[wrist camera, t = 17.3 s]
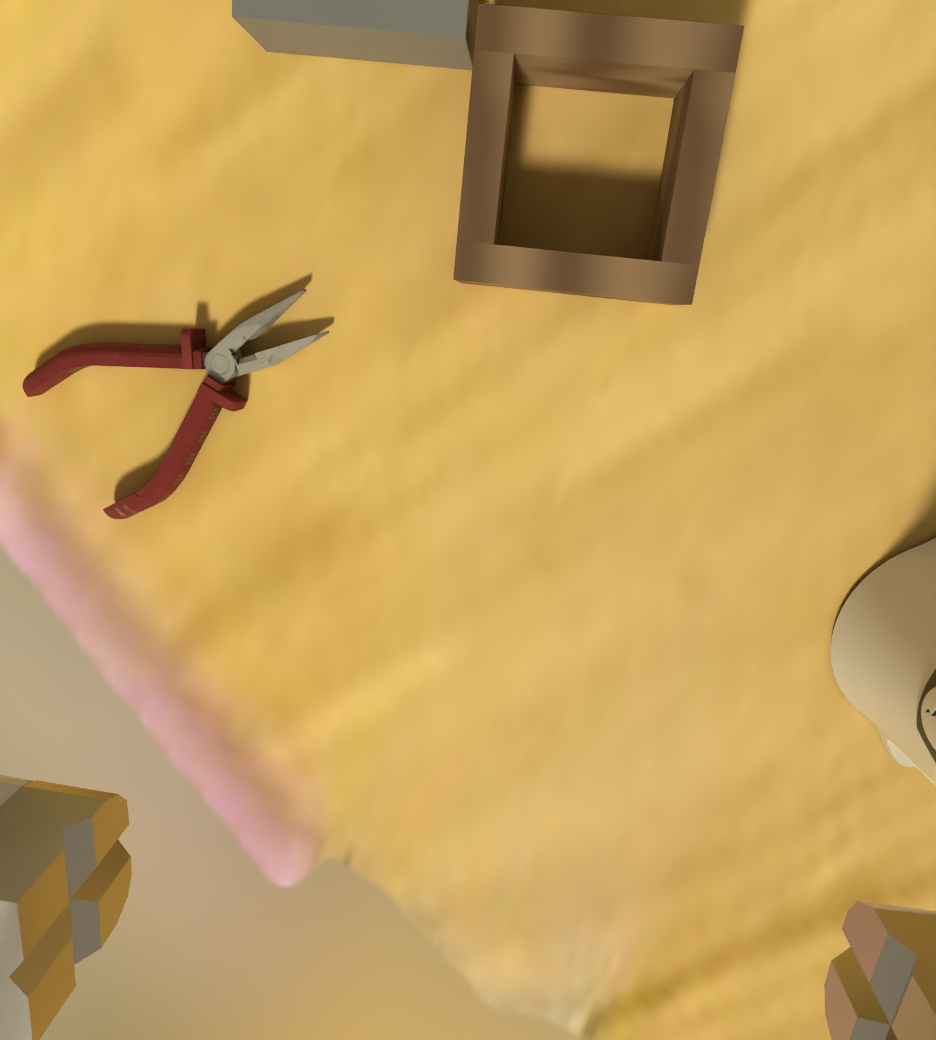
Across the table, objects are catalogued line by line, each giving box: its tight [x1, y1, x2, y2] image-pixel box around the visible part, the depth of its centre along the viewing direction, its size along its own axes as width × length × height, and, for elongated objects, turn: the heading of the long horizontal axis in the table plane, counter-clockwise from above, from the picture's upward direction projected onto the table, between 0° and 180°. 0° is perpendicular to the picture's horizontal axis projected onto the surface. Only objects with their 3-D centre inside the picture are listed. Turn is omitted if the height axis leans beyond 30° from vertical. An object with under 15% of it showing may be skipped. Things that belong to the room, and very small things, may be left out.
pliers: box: [23, 289, 329, 519], centre depth 46 cm, size 11×20×3 cm, turn 118°
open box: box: [453, 3, 744, 305], centre depth 39 cm, size 13×13×5 cm
